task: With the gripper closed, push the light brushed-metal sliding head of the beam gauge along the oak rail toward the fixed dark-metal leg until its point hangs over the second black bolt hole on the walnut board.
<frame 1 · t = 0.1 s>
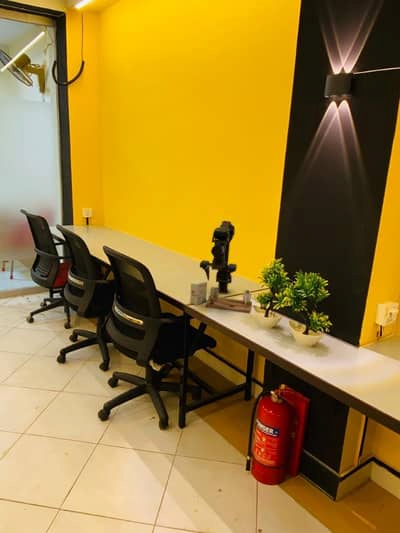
hand: (217, 281, 206), 15 cm above the table, fingers open, 9 cm apart
gauge slider: (246, 298, 212), point 5 cm above the table, slide at 18.0 cm
gauge fixed leg: (213, 301, 219), resting on hole board
hole board: (228, 306, 214), on the table
ink box: (197, 302, 216), on the table
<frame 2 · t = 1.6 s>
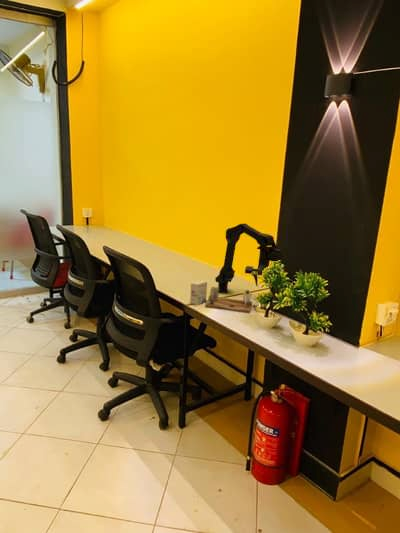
hand: (261, 286, 212), 12 cm above the table, fingers open, 4 cm apart
nothing on the table moved.
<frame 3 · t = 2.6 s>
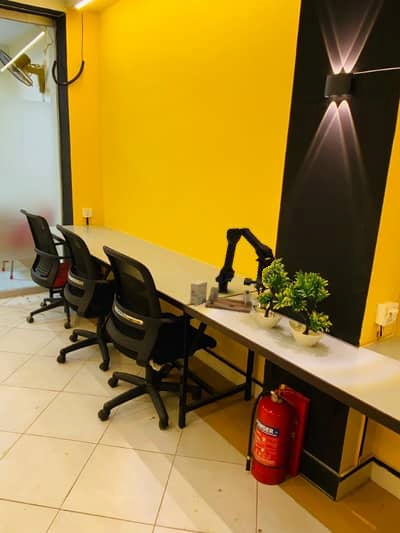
hand: (259, 298, 213), 5 cm above the table, fingers closed
nothing on the table moved.
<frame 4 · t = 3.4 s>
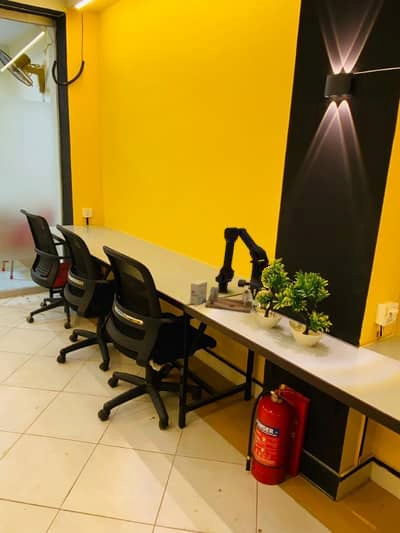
hand: (253, 300, 214), 4 cm above the table, fingers closed
gauge slider: (245, 298, 212), point 5 cm above the table, slide at 17.6 cm, touching gripper
everything else where it was.
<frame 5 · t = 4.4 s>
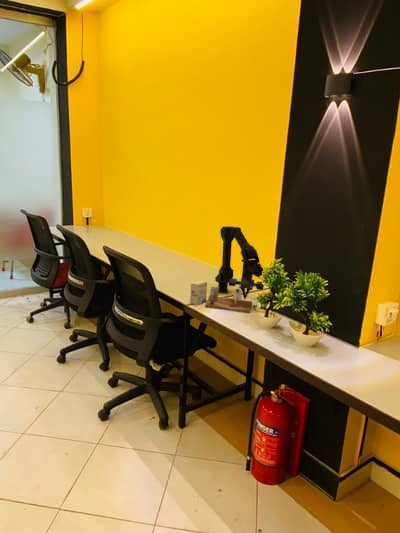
hand: (244, 298, 215), 4 cm above the table, fingers closed
gauge slider: (236, 297, 213), point 5 cm above the table, slide at 12.7 cm, touching gripper
everything else where it was.
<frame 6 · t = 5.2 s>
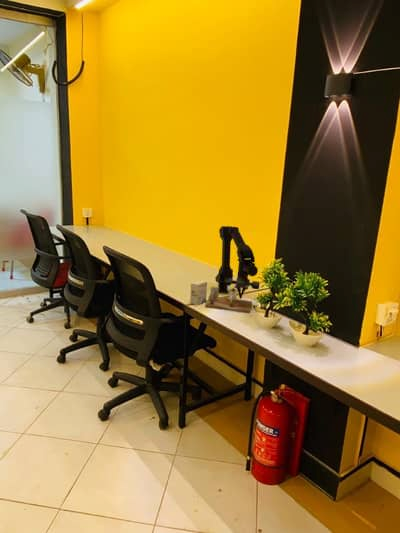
hand: (240, 298, 216), 4 cm above the table, fingers closed
gauge slider: (232, 296, 213), point 5 cm above the table, slide at 10.3 cm, touching gripper
everything else where it was.
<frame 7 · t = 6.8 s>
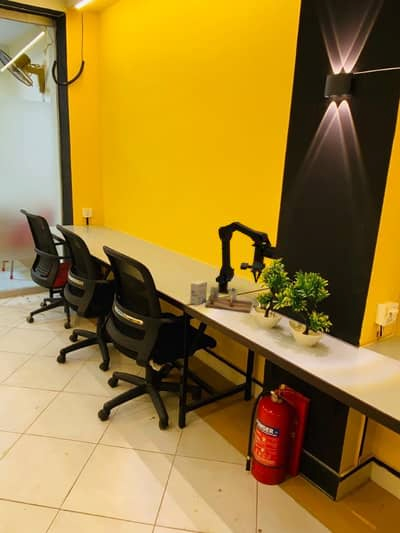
hand: (255, 282, 218), 12 cm above the table, fingers closed
gauge slider: (232, 296, 213), point 5 cm above the table, slide at 10.3 cm
everything else where it was.
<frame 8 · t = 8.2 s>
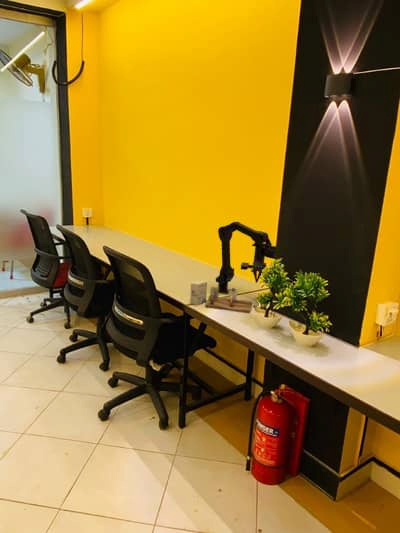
hand: (256, 282, 219), 12 cm above the table, fingers closed
nothing on the table moved.
at the end: gauge slider slide at 10.3 cm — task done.
